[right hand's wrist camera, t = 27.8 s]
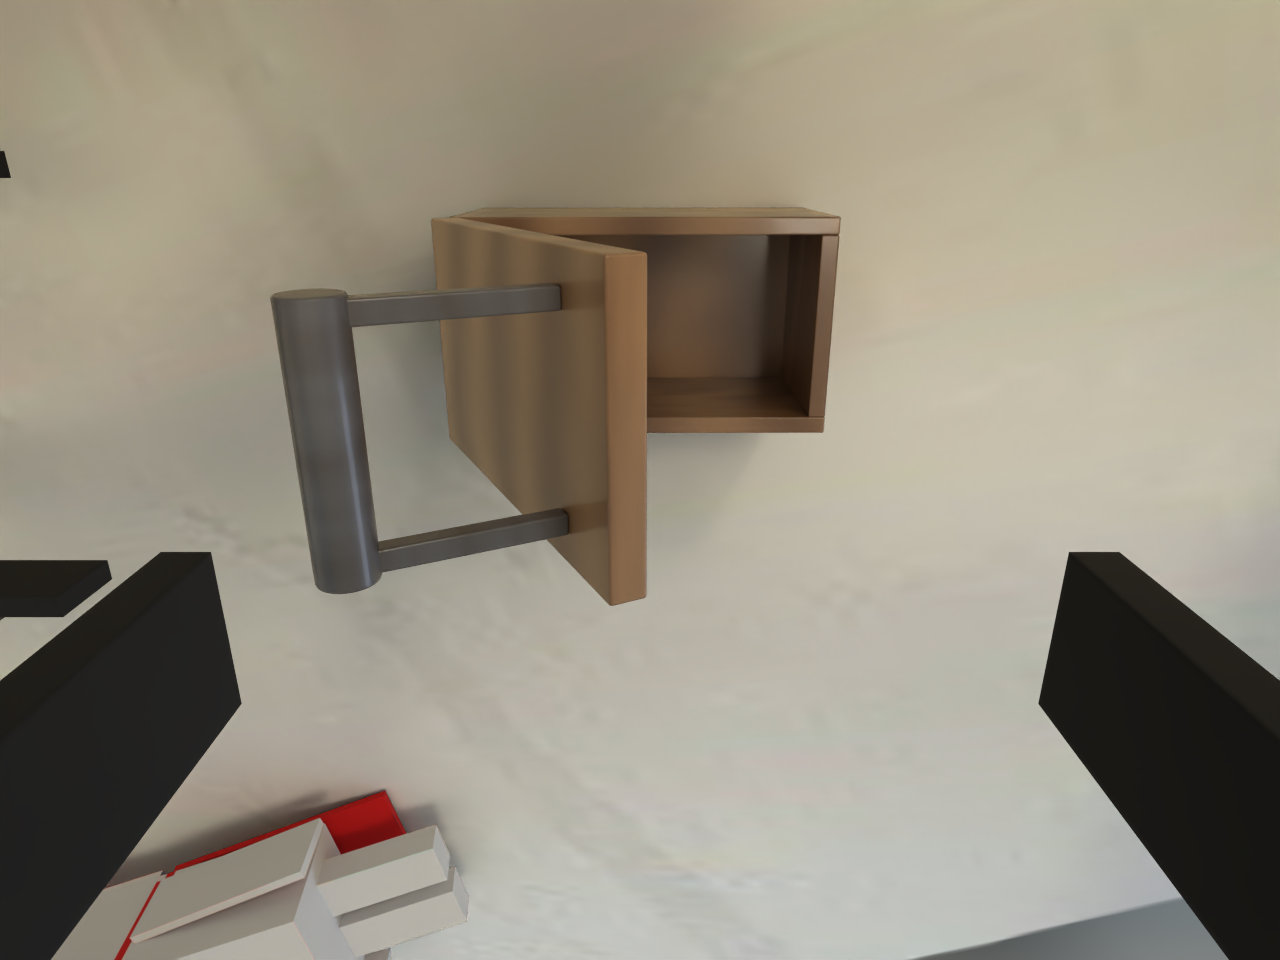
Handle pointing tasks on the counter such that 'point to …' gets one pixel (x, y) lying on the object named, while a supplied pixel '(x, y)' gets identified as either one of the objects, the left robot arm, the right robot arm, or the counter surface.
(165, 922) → the toy
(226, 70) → the counter surface
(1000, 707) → the counter surface
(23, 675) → the right robot arm
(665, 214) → the chest
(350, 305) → the lid
